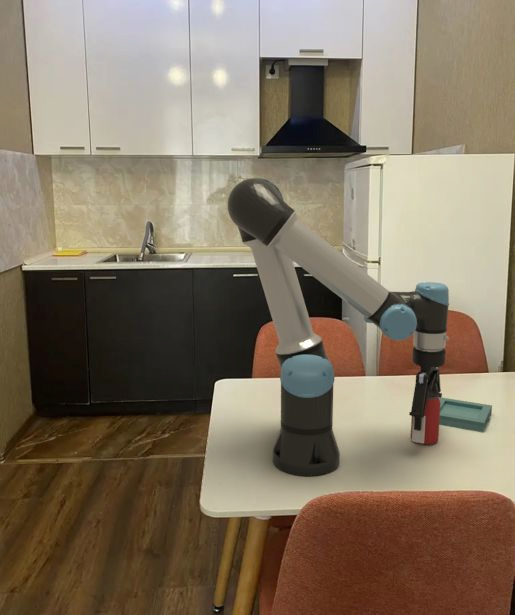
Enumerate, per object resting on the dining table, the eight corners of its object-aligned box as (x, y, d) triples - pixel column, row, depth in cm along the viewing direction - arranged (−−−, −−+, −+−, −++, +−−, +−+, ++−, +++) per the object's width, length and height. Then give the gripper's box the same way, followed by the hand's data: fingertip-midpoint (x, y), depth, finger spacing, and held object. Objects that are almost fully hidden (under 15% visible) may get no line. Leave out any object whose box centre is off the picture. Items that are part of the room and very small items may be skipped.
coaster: (483, 432, 154) (484, 422, 153) (427, 422, 160) (428, 413, 160) (491, 414, 166) (492, 405, 165) (439, 405, 172) (439, 397, 172)
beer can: (439, 447, 145) (442, 399, 143) (411, 444, 146) (413, 397, 144) (437, 436, 151) (439, 390, 149) (409, 434, 153) (412, 388, 150)
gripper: (433, 363, 132) (428, 454, 136) (455, 338, 153) (450, 417, 157) (399, 358, 135) (395, 447, 139) (425, 334, 157) (421, 412, 161)
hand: (424, 431), depth 148 cm, fingers open, 13 cm apart
